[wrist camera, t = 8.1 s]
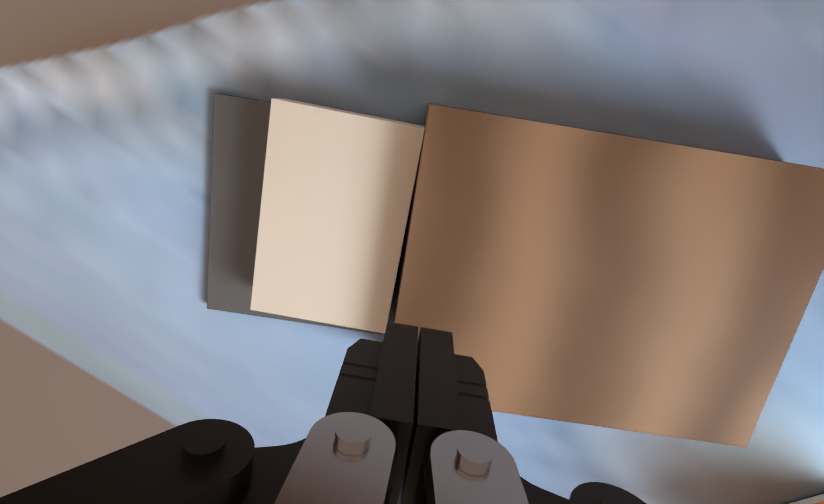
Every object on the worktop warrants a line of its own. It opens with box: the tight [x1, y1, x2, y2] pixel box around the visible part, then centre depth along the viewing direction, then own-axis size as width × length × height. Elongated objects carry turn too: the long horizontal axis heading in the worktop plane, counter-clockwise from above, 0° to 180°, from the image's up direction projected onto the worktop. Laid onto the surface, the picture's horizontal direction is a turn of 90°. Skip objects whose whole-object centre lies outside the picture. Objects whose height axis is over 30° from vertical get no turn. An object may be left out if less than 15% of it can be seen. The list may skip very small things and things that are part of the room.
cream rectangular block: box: [250, 98, 425, 334], centre depth 21 cm, size 6×9×2 cm, turn 169°
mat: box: [207, 94, 381, 334], centre depth 22 cm, size 8×10×1 cm
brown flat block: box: [393, 104, 824, 447], centre depth 21 cm, size 16×12×4 cm
